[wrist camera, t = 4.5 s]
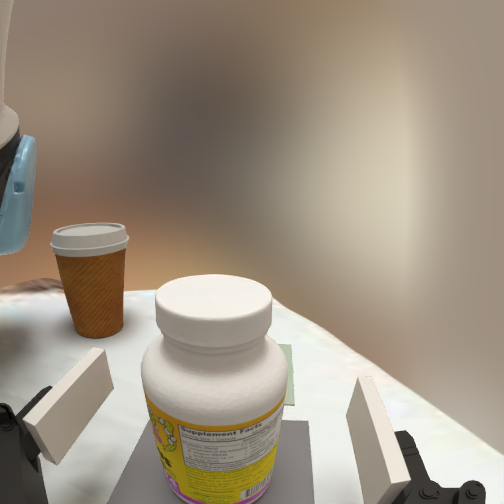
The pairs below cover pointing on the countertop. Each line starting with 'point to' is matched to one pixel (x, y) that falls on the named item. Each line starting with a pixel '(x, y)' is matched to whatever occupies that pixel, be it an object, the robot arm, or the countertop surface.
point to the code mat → (272, 500)
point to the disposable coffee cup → (92, 275)
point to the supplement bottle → (215, 388)
